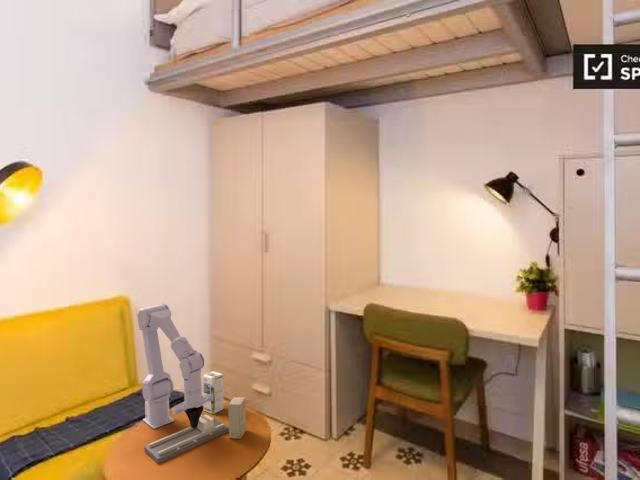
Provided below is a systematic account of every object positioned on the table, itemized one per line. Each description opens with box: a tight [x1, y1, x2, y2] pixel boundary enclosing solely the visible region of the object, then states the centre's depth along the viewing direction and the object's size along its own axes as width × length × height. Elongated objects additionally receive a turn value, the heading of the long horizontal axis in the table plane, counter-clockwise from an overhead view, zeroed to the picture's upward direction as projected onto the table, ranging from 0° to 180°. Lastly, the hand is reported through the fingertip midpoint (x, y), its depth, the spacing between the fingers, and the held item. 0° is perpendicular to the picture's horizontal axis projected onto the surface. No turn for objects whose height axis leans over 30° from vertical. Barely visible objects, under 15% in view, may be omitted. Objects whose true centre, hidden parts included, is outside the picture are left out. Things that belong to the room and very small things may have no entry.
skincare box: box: [227, 396, 247, 439], centre depth 145 cm, size 6×4×12 cm
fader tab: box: [197, 413, 214, 432], centre depth 146 cm, size 5×4×4 cm
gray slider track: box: [143, 416, 229, 464], centre depth 142 cm, size 10×26×2 cm, turn 136°
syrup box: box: [202, 370, 225, 415], centre depth 163 cm, size 6×6×14 cm
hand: (194, 427), depth 143 cm, fingers closed
